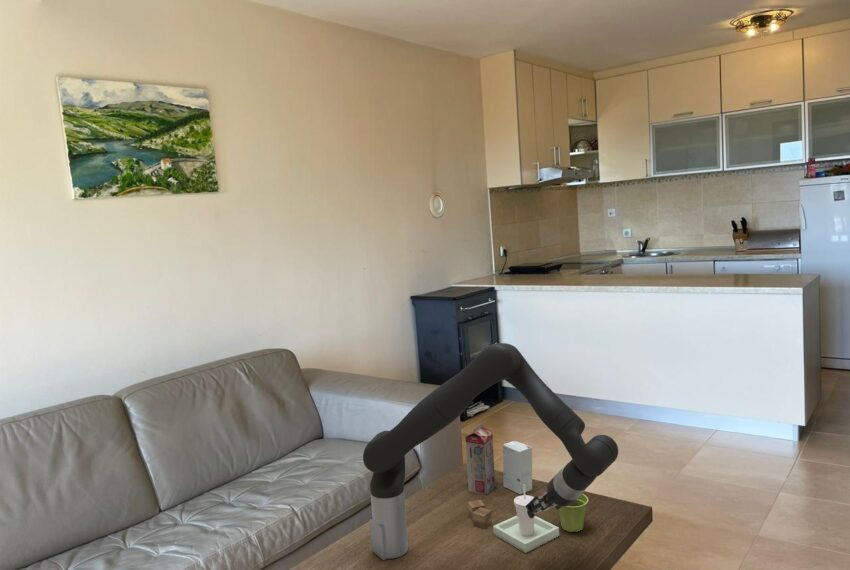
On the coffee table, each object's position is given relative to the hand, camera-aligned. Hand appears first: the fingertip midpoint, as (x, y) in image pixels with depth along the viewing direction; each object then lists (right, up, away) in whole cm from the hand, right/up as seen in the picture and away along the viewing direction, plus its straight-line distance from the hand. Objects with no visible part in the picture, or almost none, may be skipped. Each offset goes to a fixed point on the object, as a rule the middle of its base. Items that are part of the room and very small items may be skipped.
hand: (542, 510), depth 170 cm
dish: (-3, -10, +9) cm, 14 cm away
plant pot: (+11, -9, +11) cm, 18 cm away
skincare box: (-1, -7, +38) cm, 39 cm away
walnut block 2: (-15, -10, +16) cm, 24 cm away
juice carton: (-13, -7, +40) cm, 42 cm away
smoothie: (-3, -9, +8) cm, 13 cm away
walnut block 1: (-16, -9, +22) cm, 28 cm away
